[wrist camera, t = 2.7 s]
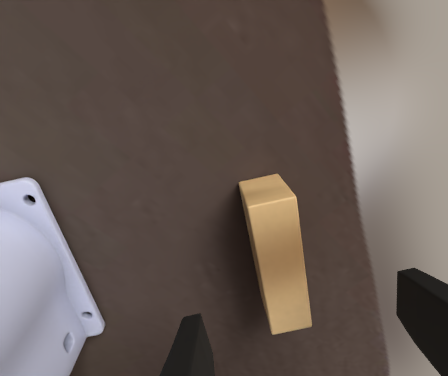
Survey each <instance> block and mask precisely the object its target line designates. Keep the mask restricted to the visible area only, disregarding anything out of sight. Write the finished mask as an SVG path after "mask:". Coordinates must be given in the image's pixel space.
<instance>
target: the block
mask: <svg viewBox="0 0 448 376" xmlns="http://www.w3.org/2000/svg"><path fill="white" fill-rule="evenodd" d="M239 188H240V193H241V198H242V203H243V208H244V213H245V218H246V223H247V228H248V233H249V238H250V243H251V248H252V253H253V258H254V263H255V268H256V273H257V278H258V283H259V288H260V293H261V297H262V300H263V304H264V308H265V311H266V315H267V319H268V322H269V326H270V330H271V333H272V335H275V334H279V333H284V332H289V331H293V330H298V329H303V328H307V327H311V326H312V321H311V312H310V304H309V296H308V288H307V280H306V271H305V263H304V255H303V247H302V239H301V230H300V222H299V214H298V206H297V198H296V196H295V195H294V193H293V192H292V191H291V190H290V188H289V187H288V186H287V185H286V183H285V182H284V181H283V180H282V178H281V177H280V176H279V175H278V174H274V175H269V176H265V177H260V178H255V179H251V180H246V181H242V182H239Z"/></svg>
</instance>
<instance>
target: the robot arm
mask: <svg viewBox="0 0 448 376" xmlns="http://www.w3.org/2000/svg"><path fill="white" fill-rule="evenodd" d="M28 195H31V196H33V197H34V198H35V201H36V202H32V201H30V199H29V198H28ZM397 273H398V274H397V316H398V318H399V319H400V321H401V323H402V324H403V326H404V327H405V329H406V331H407V332H408V333H409V335H410V336H411V338H412V339H413V341H414V343H415V344H416V345H417V346H418V348H419V349H420V350H421V351H422V353H423V354H424V355H425V356H426V358H427V359H428V360H429V361H430V363H431V364H432V365H433V366H434V368H435V369H436V370H437V371H438V372H439V374H440V375H441V376H448V284H446V283H444V282H442V281H440V280H438V279H436V278H434V277H432V276H430V275H428V274H426V273H424V272H422V271H420V270H418V269H416V268H411V269H406V270H402V271H398V272H397ZM86 312H89V313H91V314H88V313H86ZM104 327H105V322H104V320H103V318H102V316H101V314H100V311H99V309H98V307H97V305H96V303H95V301H94V299H93V297H92V295H91V293H90V290H89V288H88V286H87V284H86V282H85V280H84V278H83V276H82V274H81V272H80V270H79V267H78V265H77V263H76V261H75V259H74V257H73V255H72V253H71V251H70V249H69V246H68V244H67V242H66V240H65V238H64V236H63V234H62V232H61V230H60V228H59V226H58V223H57V221H56V219H55V217H54V215H53V213H52V211H51V209H50V207H49V205H48V202H47V200H46V198H45V196H44V194H43V192H42V190H41V188H40V186H39V184H38V183H37V182H36V181H35V180H34V179H31V178H20V179H15V180H11V181H6V182H2V183H0V376H70V374H71V371H72V369H73V367H74V365H75V362H76V360H77V358H78V356H79V353H80V351H81V349H82V347H83V345H84V342H85V340H86V338H87V337H90V336H95V335H98V334H101V333H102V332H103V329H104ZM160 376H215V372H214V361H213V352H212V349H211V346H210V343H209V339H208V336H207V333H206V330H205V326H204V323H203V320H202V317H201V313H200V314H195V315H191V316H186V317H184V318H183V319H182V321H181V324H180V327H179V329H178V332H177V335H176V338H175V340H174V343H173V345H172V348H171V350H170V353H169V355H168V358H167V360H166V362H165V364H164V367H163V369H162V371H161V374H160Z"/></svg>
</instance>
